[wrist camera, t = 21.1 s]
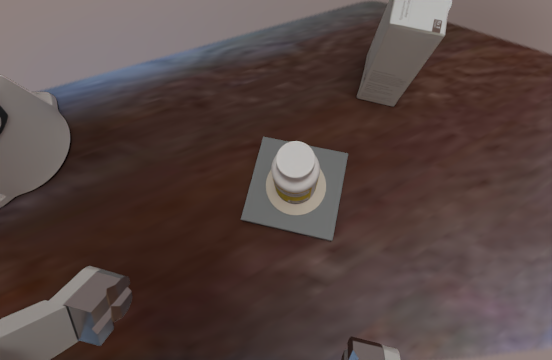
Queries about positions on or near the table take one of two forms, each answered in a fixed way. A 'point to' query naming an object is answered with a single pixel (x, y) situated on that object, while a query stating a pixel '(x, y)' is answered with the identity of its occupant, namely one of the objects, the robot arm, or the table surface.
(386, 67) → the skincare box
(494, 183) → the table surface
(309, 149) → the supplement bottle
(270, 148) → the board
